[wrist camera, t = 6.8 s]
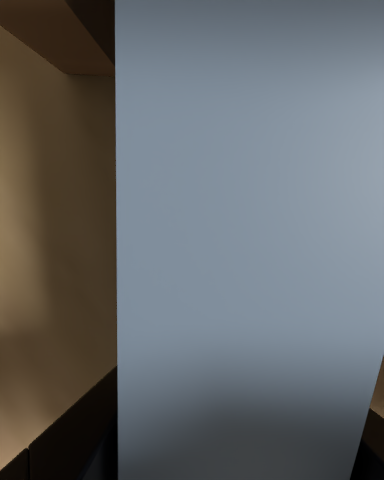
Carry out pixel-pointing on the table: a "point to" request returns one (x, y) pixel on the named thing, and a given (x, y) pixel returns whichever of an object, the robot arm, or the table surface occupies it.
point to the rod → (248, 236)
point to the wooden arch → (66, 32)
